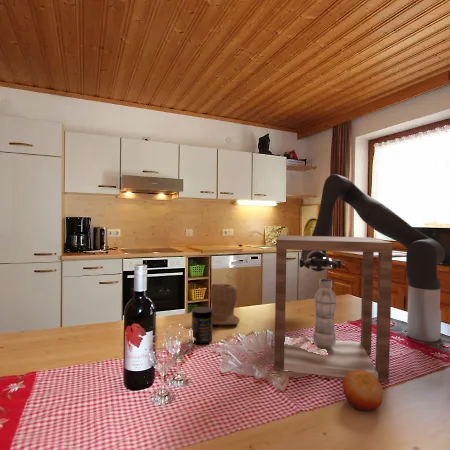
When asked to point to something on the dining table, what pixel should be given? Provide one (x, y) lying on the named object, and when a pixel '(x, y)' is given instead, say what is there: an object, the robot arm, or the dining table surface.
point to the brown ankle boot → (223, 304)
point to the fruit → (362, 390)
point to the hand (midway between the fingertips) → (321, 265)
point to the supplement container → (202, 325)
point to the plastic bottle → (325, 315)
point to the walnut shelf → (356, 351)
